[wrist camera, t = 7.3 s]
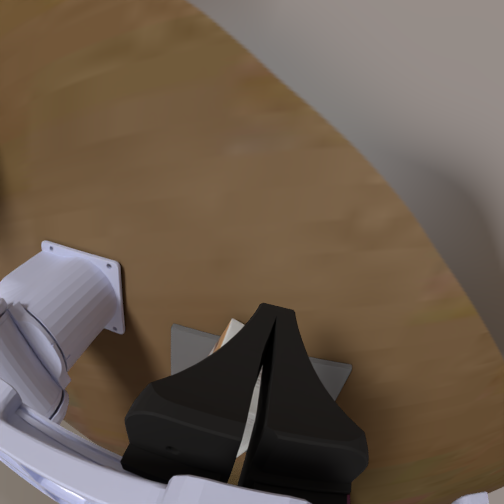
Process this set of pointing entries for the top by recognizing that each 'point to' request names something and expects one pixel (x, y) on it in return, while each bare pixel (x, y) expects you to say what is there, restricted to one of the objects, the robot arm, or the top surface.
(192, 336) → the display mat
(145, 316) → the top surface
